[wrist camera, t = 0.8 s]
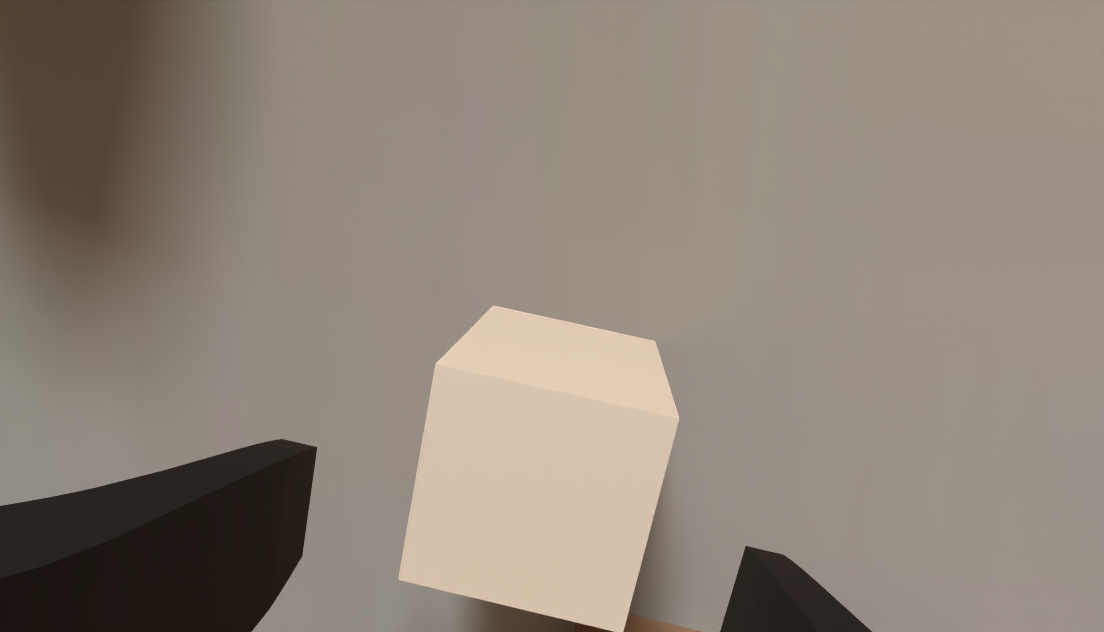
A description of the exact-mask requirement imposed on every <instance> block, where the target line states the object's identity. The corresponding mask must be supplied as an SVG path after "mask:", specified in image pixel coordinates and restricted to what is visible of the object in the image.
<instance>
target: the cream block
mask: <svg viewBox="0 0 1104 632" xmlns="http://www.w3.org/2000/svg"><path fill="white" fill-rule="evenodd" d="M678 422H679V416H678V413H677V409H676V406H675V403H674V400H673V397H672V393H671V390H670V387H669V384H668V381H667V377H666V374H665V371H664V368H663V365H662V361H661V358H660V355H659V352H658V349H657V345H656V342H655V341H652V340H648V339H643V338H639V337H634V336H630V335H625V334H621V333H616V332H611V331H607V330H602V329H598V328H593V327H589V326H584V325H580V324H575V323H571V322H566V321H561V320H557V319H552V318H548V317H543V316H539V315H534V314H530V313H525V312H521V311H516V310H511V309H507V308H502V307H498V306H492V307H491V308H490V309H489V310H488V311H487V312H486V313H485V314H484V315H483V316H482V317H481V318H480V319H479V320H478V321H477V322H476V323H475V324H474V325H473V326H472V328H471V329H470V330H469V331H468V332H467V333H466V334H465V335H464V336H463V337H462V338H461V339H460V340H459V341H458V342H457V343H456V344H455V345H454V346H453V347H452V348H451V349H450V350H449V351H448V352H447V353H446V354H445V355H444V356H443V357H442V358H441V359H440V360H439V361H438V362H437V363H436V365H435V370H434V376H433V382H432V388H431V393H430V399H429V405H428V411H427V416H426V422H425V428H424V434H423V439H422V445H421V451H420V457H419V463H418V468H417V474H416V480H415V486H414V491H413V497H412V503H411V509H410V514H409V520H408V526H407V532H406V537H405V543H404V549H403V555H402V561H401V566H400V572H399V578H398V580H402V581H406V582H410V583H414V584H418V585H422V586H427V587H431V588H435V589H439V590H443V591H447V592H452V593H456V594H460V595H464V596H468V597H472V598H477V599H481V600H485V601H489V602H493V603H497V604H502V605H506V606H510V607H514V608H518V609H522V610H526V611H531V612H535V613H539V614H543V615H547V616H551V617H556V618H560V619H564V620H568V621H572V622H576V623H581V624H585V625H589V626H593V627H597V628H601V629H606V630H610V631H614V632H623V631H624V628H625V624H626V620H627V616H628V612H629V609H630V605H631V601H632V597H633V593H634V590H635V586H636V582H637V578H638V574H639V570H640V567H641V563H642V559H643V555H644V551H645V548H646V544H647V540H648V536H649V532H650V529H651V525H652V521H653V517H654V513H655V510H656V506H657V502H658V498H659V494H660V490H661V487H662V483H663V479H664V475H665V471H666V468H667V464H668V460H669V456H670V452H671V449H672V445H673V441H674V437H675V433H676V430H677V426H678Z"/></svg>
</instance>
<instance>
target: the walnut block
mask: <svg viewBox="0 0 1104 632" xmlns="http://www.w3.org/2000/svg"><path fill="white" fill-rule="evenodd" d="M574 632H614V631H610V630H606V629H601V628H597V627H593V626H589V625H585V624H581V623H576V626H575V631H574ZM623 632H701V631H697V630H693V629H688V628H684V627H680V626H676V625H671V624H667V623H663V622H659V621H655V620H650V619H646V618H642V617H638V616H633V615H629V614H628V616H627V620H626V624H625V628H624V631H623Z"/></svg>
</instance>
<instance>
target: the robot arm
mask: <svg viewBox="0 0 1104 632" xmlns="http://www.w3.org/2000/svg"><path fill="white" fill-rule="evenodd" d="M316 451H317V447H314V446H310V445H305V444H301V443H297V442H292V441H288V440H284V439H280V440H273V441H268V442H264V443H259V444H255V445H252V446H248V447H244V448H241V449H237V450H234V451H230V452H227V453H223V454H220V455H216V456H213V457H209V458H206V459H202V460H199V461H195V462H192V463H188V464H185V465H181V466H178V467H174V468H171V469H167V470H164V471H160V472H156V473H152V474H148V475H144V476H140V477H136V478H132V479H128V480H124V481H120V482H116V483H112V484H108V485H105V486H101V487H97V488H92V489H88V490H83V491H79V492H74V493H69V494H64V495H59V496H54V497H49V498H44V499H38V500H32V501H27V502H21V503H15V504H10V505H4V506H0V632H251V631H252V630H253V629H254V628H255V626H256V625H257V624H258V623H259V621H260V620H261V619H262V618H263V616H264V615H265V614H266V613H267V611H268V610H269V609H270V607H271V606H272V604H273V603H274V601H275V600H276V598H277V596H278V595H279V593H280V592H281V590H282V589H283V587H284V586H285V584H286V582H287V581H288V579H289V577H290V576H291V574H292V572H293V571H294V569H295V567H296V566H297V564H298V562H299V561H300V559H301V557H302V554H303V546H304V539H305V532H306V524H307V517H308V510H309V503H310V495H311V488H312V481H313V473H314V466H315V459H316ZM720 632H872V631H871V630H869V629H868V628H867V627H866V626H865V625H864V624H863V623H862V622H861V621H859V620H858V619H857V618H856V617H855V616H854V615H853V614H852V613H851V612H849V611H848V610H847V609H846V608H845V607H844V606H843V605H842V604H841V603H840V602H838V601H837V600H836V599H835V598H834V597H833V596H832V595H831V594H830V593H829V592H827V591H826V590H825V589H824V588H823V587H822V586H821V585H820V584H819V583H818V582H816V581H815V580H814V579H813V578H812V577H811V576H810V575H808V574H807V573H806V572H805V571H804V570H803V569H801V568H800V567H799V566H798V565H797V564H795V563H794V562H793V561H792V560H790V559H789V558H787V557H786V556H785V555H782V554H778V553H774V552H769V551H765V550H761V549H756V548H752V547H748V546H746V547H745V551H744V554H743V557H742V561H741V564H740V567H739V571H738V574H737V577H736V581H735V584H734V587H733V591H732V594H731V597H730V601H729V604H728V607H727V611H726V614H725V617H724V621H723V624H722V627H721V631H720Z"/></svg>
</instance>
